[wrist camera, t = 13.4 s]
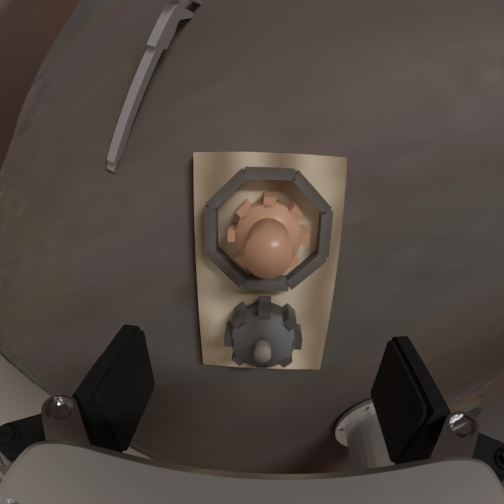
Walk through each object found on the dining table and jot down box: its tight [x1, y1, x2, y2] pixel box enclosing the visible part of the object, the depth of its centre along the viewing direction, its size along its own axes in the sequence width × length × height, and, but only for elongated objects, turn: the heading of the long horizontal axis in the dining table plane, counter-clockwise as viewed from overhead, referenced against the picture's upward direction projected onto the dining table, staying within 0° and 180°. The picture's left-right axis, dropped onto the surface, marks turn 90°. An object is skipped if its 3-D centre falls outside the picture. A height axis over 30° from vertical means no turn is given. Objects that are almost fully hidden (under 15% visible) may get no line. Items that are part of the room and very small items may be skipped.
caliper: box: [107, 0, 203, 173], centre depth 22 cm, size 20×1×6 cm, turn 152°
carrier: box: [194, 152, 347, 372], centre depth 28 cm, size 14×24×6 cm, turn 179°
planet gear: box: [228, 192, 310, 279], centre depth 25 cm, size 7×7×8 cm
